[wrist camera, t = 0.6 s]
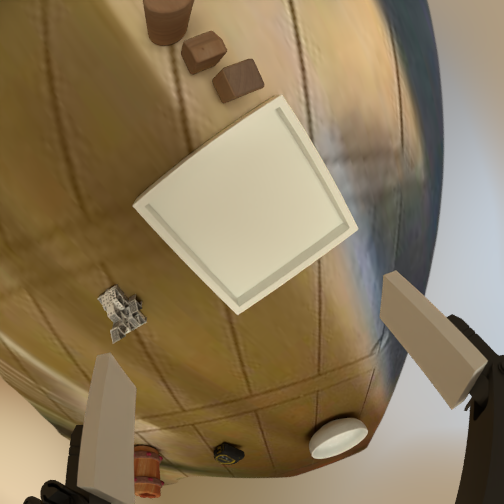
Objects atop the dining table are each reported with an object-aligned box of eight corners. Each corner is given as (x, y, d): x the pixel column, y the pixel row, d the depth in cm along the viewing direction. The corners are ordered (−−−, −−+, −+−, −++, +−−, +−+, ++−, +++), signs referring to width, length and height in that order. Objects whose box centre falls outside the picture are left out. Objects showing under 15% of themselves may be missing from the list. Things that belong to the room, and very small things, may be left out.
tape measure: (245, 448, 64) (246, 459, 60) (228, 457, 65) (227, 467, 61) (226, 439, 62) (225, 450, 58) (208, 447, 63) (207, 458, 60)
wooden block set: (258, 89, 30) (295, 76, 21) (189, 119, 29) (198, 114, 20) (199, -28, 21) (213, -73, 12) (129, -3, 21) (119, -45, 12)
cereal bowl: (368, 411, 71) (378, 428, 65) (330, 440, 76) (337, 457, 70) (333, 407, 64) (344, 428, 58) (292, 439, 69) (299, 459, 63)
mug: (158, 442, 57) (162, 494, 44) (165, 454, 61) (170, 502, 48) (104, 441, 55) (102, 491, 42) (115, 453, 58) (114, 500, 45)
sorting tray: (136, 198, 32) (132, 205, 30) (274, 95, 30) (282, 94, 28) (234, 302, 42) (237, 315, 39) (347, 220, 40) (358, 229, 37)
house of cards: (181, 310, 41) (182, 347, 35) (135, 333, 42) (131, 370, 35) (144, 264, 37) (137, 298, 30) (97, 293, 37) (85, 328, 30)
